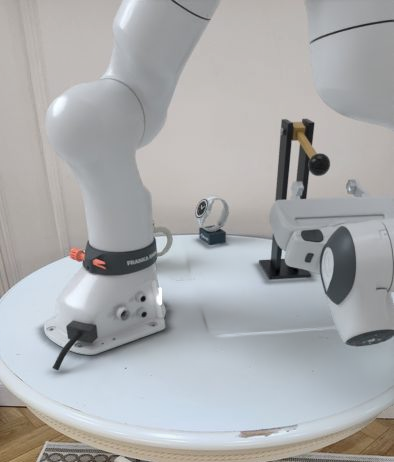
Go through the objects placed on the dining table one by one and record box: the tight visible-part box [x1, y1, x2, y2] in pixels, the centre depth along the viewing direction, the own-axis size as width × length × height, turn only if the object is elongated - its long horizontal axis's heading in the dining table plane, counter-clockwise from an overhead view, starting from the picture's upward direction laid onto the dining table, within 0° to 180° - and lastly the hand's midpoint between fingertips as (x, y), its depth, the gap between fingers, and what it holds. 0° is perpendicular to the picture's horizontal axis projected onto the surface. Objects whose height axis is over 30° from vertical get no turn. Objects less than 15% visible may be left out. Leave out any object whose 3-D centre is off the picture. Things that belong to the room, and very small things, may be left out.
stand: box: [258, 118, 315, 281], centre depth 106 cm, size 9×9×30 cm
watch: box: [194, 195, 230, 246], centre depth 126 cm, size 6×8×11 cm
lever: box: [291, 121, 331, 177], centre depth 94 cm, size 17×4×4 cm, turn 8°
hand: (324, 183), depth 88 cm, fingers open, 8 cm apart
